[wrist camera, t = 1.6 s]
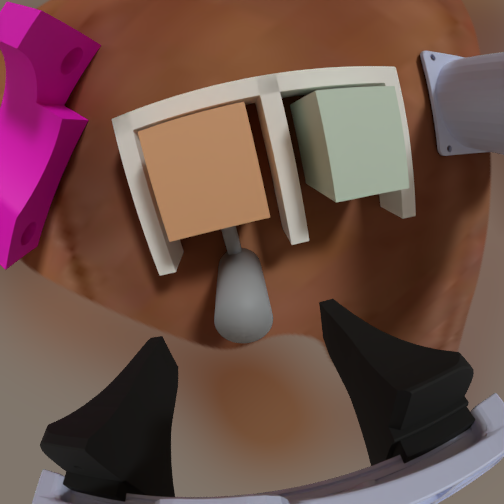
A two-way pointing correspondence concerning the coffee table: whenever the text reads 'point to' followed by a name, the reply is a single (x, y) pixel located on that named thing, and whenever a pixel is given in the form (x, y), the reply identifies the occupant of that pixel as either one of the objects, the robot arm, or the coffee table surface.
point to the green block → (351, 141)
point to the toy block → (35, 120)
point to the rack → (275, 138)
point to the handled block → (214, 204)
